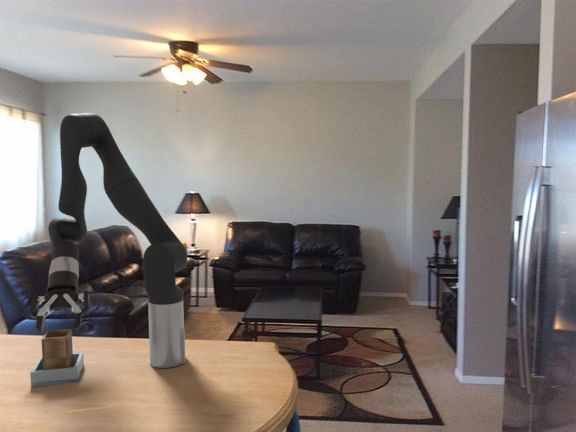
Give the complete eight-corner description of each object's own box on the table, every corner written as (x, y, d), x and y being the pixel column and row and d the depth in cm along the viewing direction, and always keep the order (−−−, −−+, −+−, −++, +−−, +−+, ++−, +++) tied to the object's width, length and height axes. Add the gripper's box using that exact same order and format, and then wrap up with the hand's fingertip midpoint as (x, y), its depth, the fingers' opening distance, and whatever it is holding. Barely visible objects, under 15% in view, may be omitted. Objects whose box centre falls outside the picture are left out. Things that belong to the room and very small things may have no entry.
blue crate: (83, 364, 132) (83, 352, 132) (78, 381, 122) (77, 367, 121) (40, 369, 129) (39, 356, 129) (31, 386, 119) (30, 372, 119)
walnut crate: (73, 366, 129) (71, 329, 128) (69, 375, 123) (67, 336, 122) (48, 368, 128) (46, 331, 127) (43, 378, 122) (41, 339, 121)
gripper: (32, 271, 132) (25, 325, 122) (89, 267, 136) (86, 320, 126) (38, 285, 138) (31, 339, 128) (92, 282, 142) (90, 333, 132)
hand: (58, 330), depth 127 cm, fingers open, 8 cm apart
